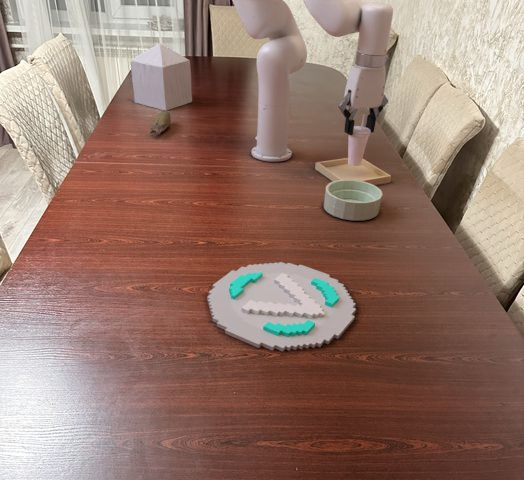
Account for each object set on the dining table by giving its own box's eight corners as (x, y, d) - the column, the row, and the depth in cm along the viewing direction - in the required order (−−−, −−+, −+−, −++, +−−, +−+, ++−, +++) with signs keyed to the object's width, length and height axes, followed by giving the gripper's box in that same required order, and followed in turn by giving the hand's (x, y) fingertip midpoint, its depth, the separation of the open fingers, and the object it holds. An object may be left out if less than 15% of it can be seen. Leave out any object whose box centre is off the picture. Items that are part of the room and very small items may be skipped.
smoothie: (364, 169, 149) (373, 117, 140) (342, 166, 149) (349, 115, 140) (365, 161, 154) (374, 111, 144) (344, 158, 154) (351, 108, 145)
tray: (314, 168, 157) (315, 162, 155) (357, 162, 162) (358, 156, 161) (345, 190, 145) (346, 183, 144) (390, 182, 151) (391, 175, 150)
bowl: (312, 202, 139) (315, 184, 135) (358, 194, 144) (361, 176, 141) (342, 225, 129) (345, 206, 126) (390, 216, 134) (394, 197, 131)
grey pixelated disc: (310, 371, 87) (311, 363, 86) (179, 313, 98) (179, 306, 97) (375, 294, 106) (376, 287, 105) (259, 253, 117) (259, 246, 116)
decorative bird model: (175, 122, 184) (174, 107, 181) (162, 140, 169) (160, 124, 166) (161, 121, 185) (160, 106, 181) (146, 139, 169) (145, 123, 166)
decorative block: (192, 101, 205) (190, 43, 192) (166, 110, 194) (161, 49, 181) (161, 94, 211) (157, 37, 198) (133, 102, 200) (127, 43, 187)
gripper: (388, 55, 140) (376, 125, 151) (333, 59, 134) (325, 131, 145) (405, 61, 135) (392, 133, 146) (350, 65, 129) (340, 140, 140)
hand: (359, 131), depth 146 cm, fingers closed on smoothie, 6 cm apart
